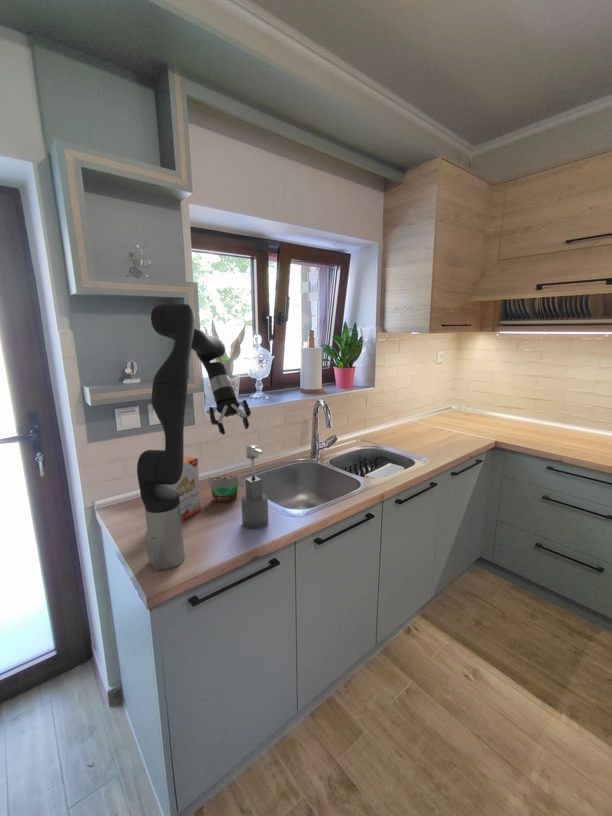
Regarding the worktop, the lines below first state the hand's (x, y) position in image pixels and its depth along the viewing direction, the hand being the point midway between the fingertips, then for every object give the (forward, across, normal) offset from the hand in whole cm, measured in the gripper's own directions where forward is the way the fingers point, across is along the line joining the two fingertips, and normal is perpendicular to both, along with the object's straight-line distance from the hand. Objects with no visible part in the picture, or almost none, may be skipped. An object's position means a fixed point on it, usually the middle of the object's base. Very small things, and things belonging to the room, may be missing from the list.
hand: (235, 431), depth 129 cm
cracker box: (+22, -23, +20) cm, 37 cm away
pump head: (+20, +1, -3) cm, 20 cm away
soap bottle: (+32, -1, +6) cm, 33 cm away
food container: (+21, -6, +25) cm, 33 cm away
